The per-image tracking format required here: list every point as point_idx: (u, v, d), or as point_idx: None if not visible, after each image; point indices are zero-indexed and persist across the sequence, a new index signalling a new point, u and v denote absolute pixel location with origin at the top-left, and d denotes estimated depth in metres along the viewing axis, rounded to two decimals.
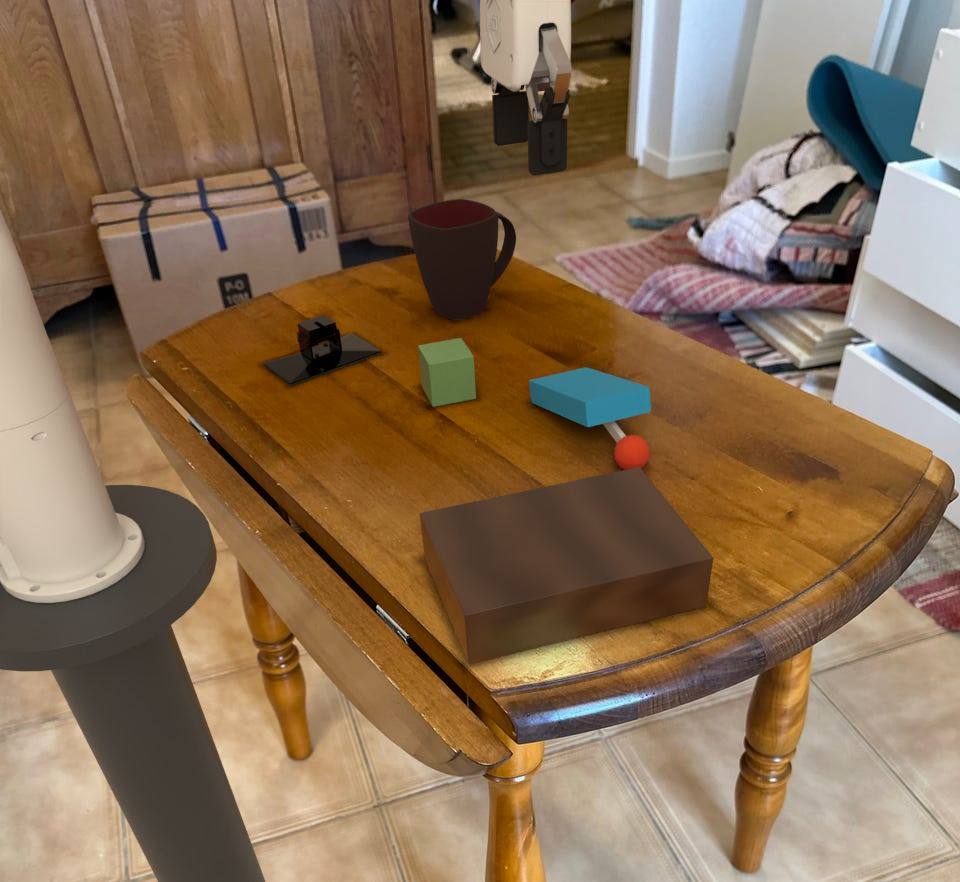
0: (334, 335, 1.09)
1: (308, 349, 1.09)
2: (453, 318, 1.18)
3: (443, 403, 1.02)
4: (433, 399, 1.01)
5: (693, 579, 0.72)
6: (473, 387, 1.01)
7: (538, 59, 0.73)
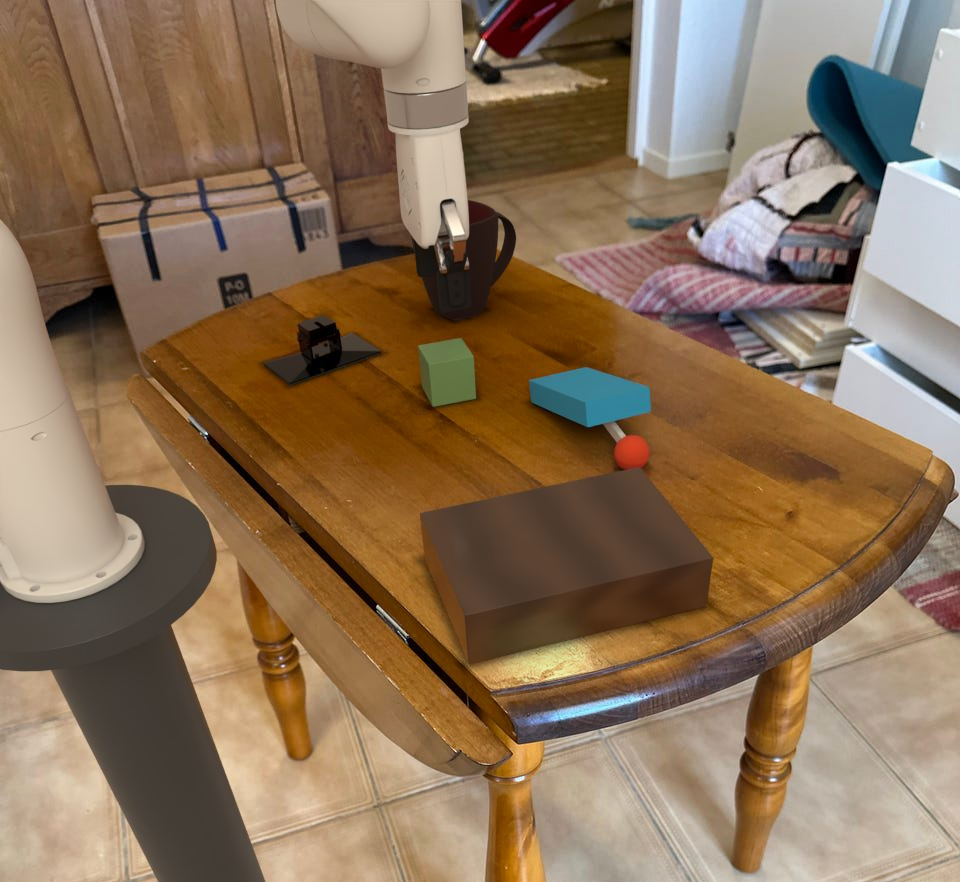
0: (334, 335, 1.09)
1: (308, 349, 1.09)
2: (453, 318, 1.18)
3: (443, 403, 1.02)
4: (433, 399, 1.01)
5: (693, 579, 0.72)
6: (473, 387, 1.01)
7: (443, 223, 0.89)
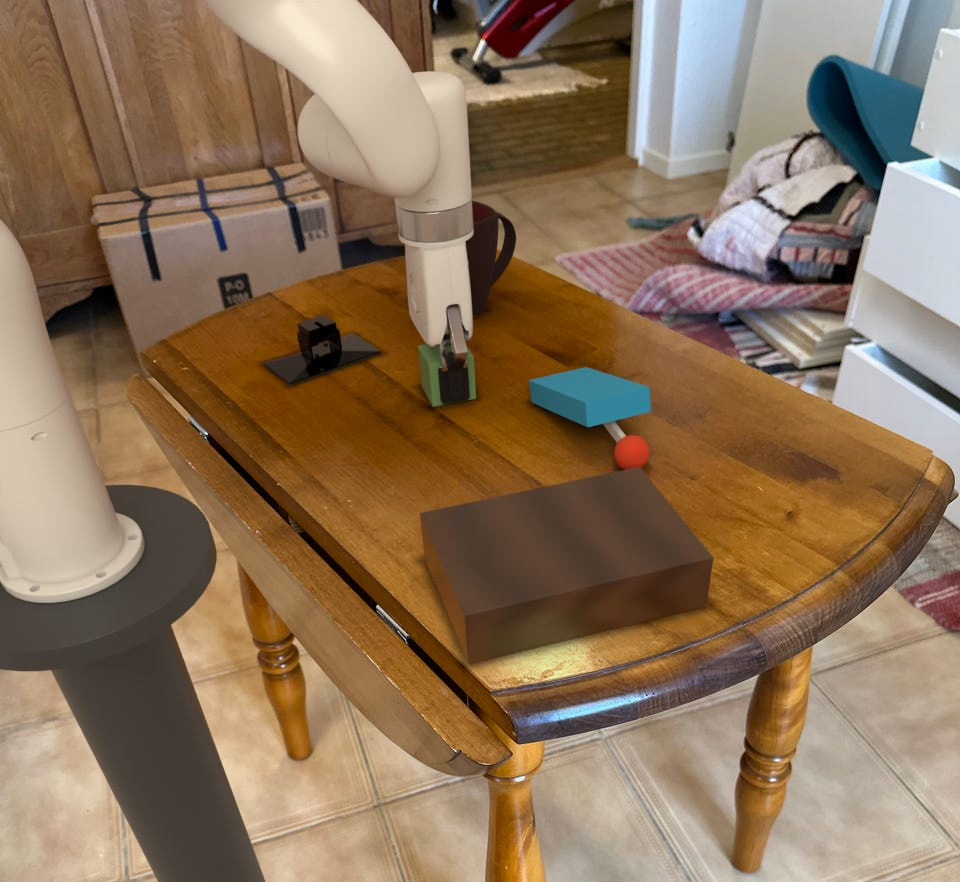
0: (334, 335, 1.09)
1: (308, 349, 1.09)
2: None
3: None
4: (433, 399, 1.01)
5: (693, 579, 0.72)
6: (473, 387, 1.01)
7: None
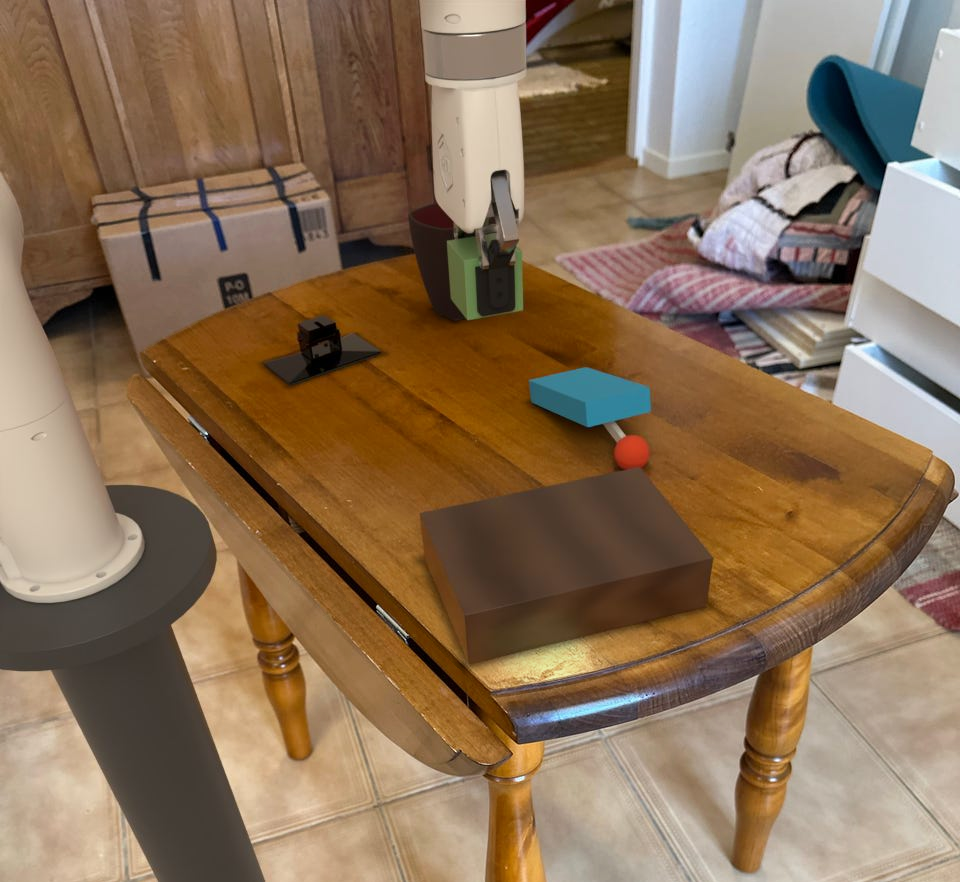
0: (334, 335, 1.09)
1: (308, 349, 1.09)
2: (453, 318, 1.18)
3: None
4: (468, 310, 0.77)
5: (693, 579, 0.72)
6: (520, 294, 0.78)
7: None
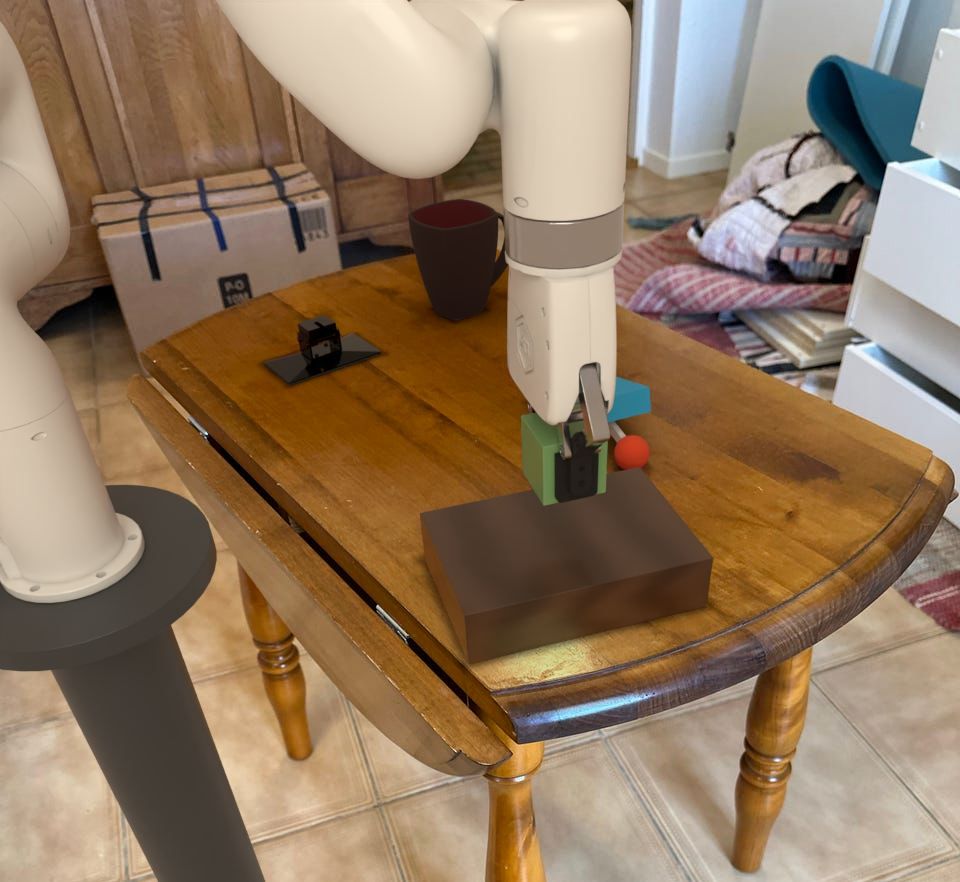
0: (334, 335, 1.09)
1: (308, 349, 1.09)
2: (453, 318, 1.18)
3: None
4: (545, 495, 0.69)
5: (693, 579, 0.72)
6: (603, 477, 0.69)
7: None
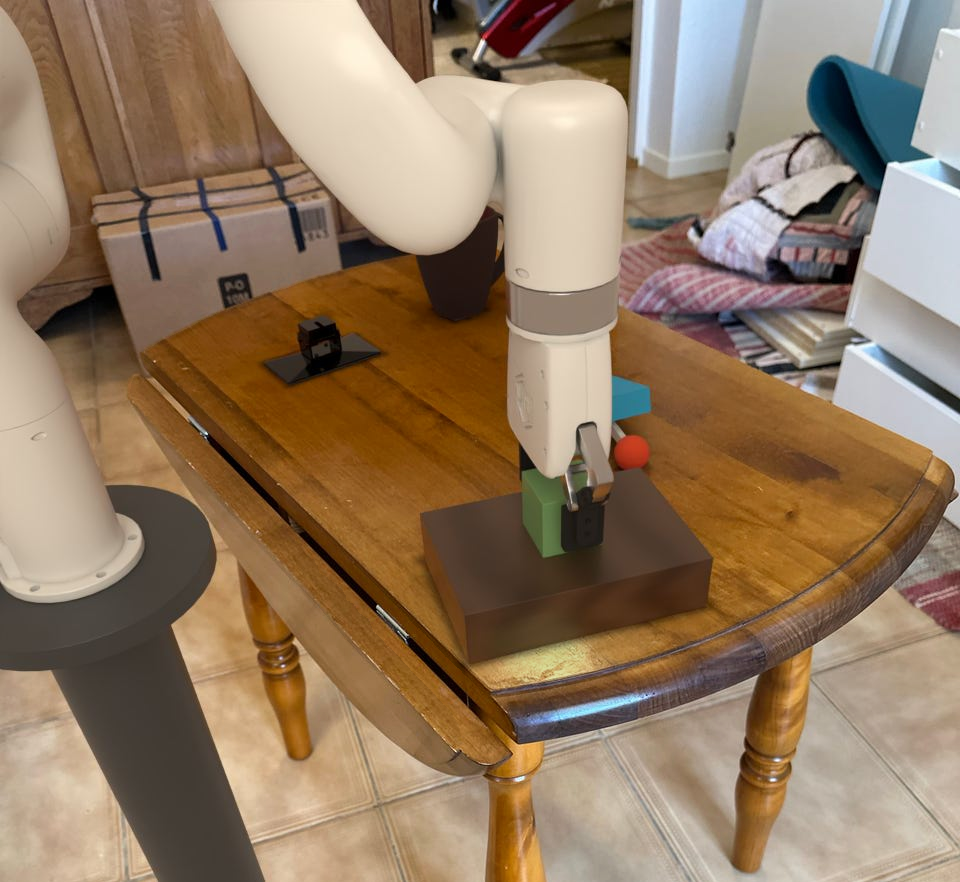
0: (334, 335, 1.09)
1: (308, 349, 1.09)
2: (453, 318, 1.18)
3: (557, 553, 0.72)
4: (544, 548, 0.72)
5: (693, 579, 0.72)
6: None
7: None
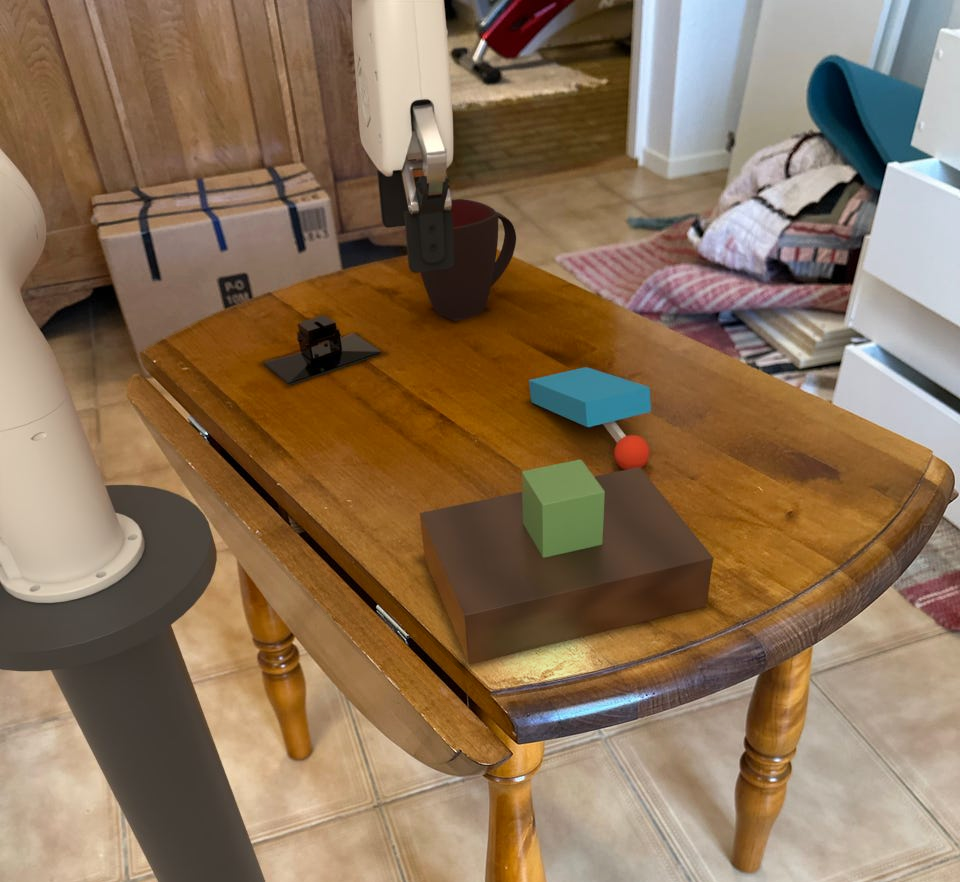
0: (334, 335, 1.09)
1: (308, 349, 1.09)
2: (453, 318, 1.18)
3: (557, 553, 0.72)
4: (544, 548, 0.72)
5: (693, 579, 0.72)
6: (600, 530, 0.72)
7: (415, 139, 0.61)
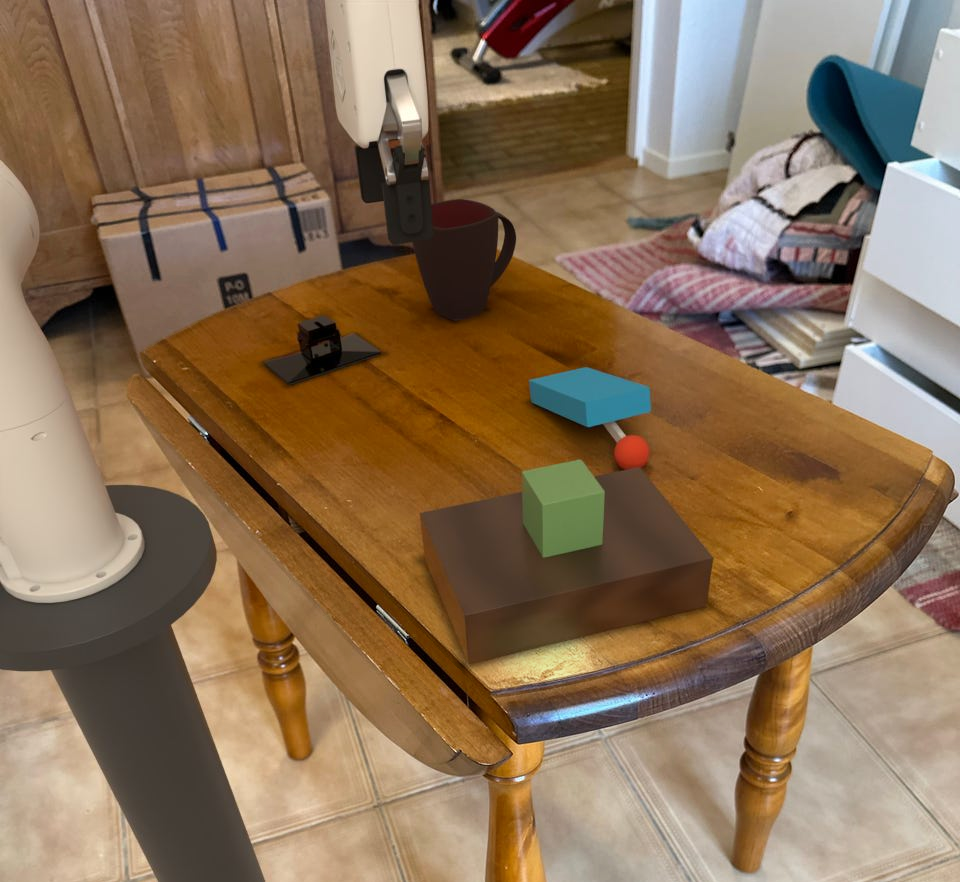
0: (334, 335, 1.09)
1: (307, 349, 1.09)
2: (453, 318, 1.18)
3: (557, 553, 0.72)
4: (544, 548, 0.72)
5: (693, 579, 0.72)
6: (600, 530, 0.72)
7: (391, 110, 0.61)
